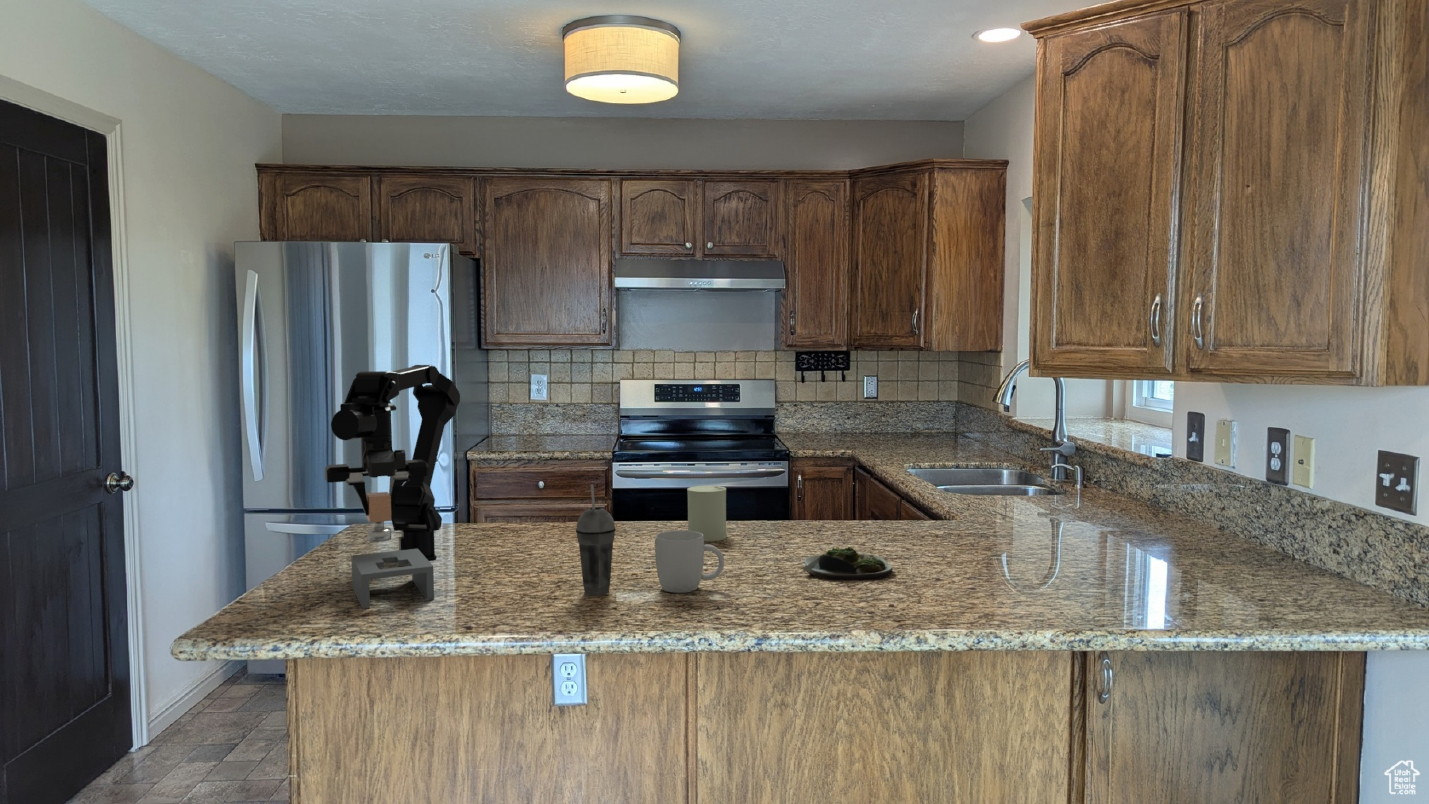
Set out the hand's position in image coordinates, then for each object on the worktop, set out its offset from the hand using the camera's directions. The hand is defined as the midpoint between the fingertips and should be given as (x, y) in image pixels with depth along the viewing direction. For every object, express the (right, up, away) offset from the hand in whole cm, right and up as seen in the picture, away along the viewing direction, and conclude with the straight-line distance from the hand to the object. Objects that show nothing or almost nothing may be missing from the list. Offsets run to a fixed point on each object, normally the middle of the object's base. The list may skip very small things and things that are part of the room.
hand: (378, 514), depth 179 cm
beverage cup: (+45, -13, -13) cm, 48 cm away
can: (+64, -10, +33) cm, 73 cm away
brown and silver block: (0, -5, 0) cm, 5 cm away
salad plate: (+92, -12, +2) cm, 93 cm away
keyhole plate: (+7, -13, -12) cm, 19 cm away
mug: (+62, -13, -11) cm, 64 cm away
